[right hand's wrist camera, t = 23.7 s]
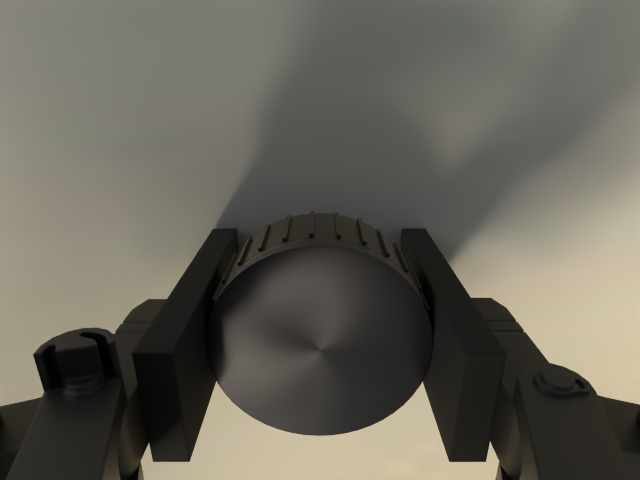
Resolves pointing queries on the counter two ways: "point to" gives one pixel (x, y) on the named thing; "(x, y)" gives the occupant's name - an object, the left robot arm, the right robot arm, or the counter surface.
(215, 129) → the counter surface
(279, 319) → the lid
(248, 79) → the counter surface
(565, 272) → the counter surface
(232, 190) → the counter surface
